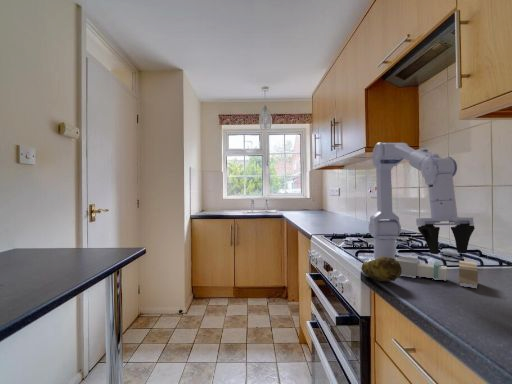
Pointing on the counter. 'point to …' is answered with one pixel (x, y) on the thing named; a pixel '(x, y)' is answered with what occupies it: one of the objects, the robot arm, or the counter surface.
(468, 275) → the tan rectangular block
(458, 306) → the counter surface
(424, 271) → the white bar teal band
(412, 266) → the sleeve
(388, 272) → the potato
